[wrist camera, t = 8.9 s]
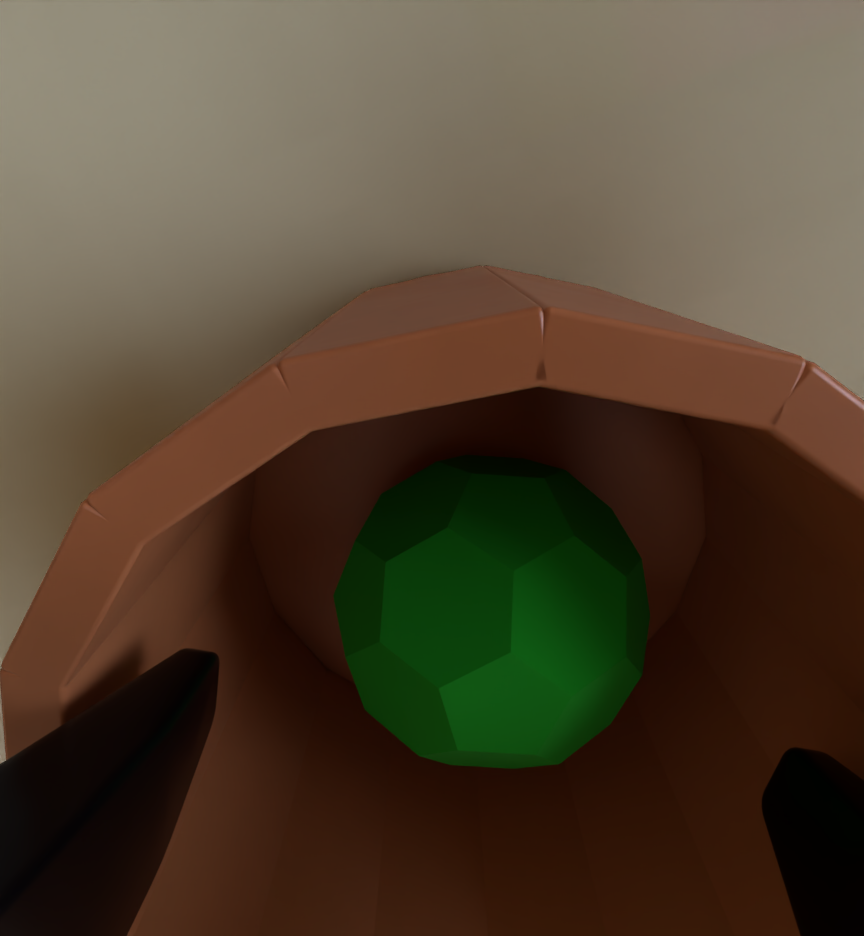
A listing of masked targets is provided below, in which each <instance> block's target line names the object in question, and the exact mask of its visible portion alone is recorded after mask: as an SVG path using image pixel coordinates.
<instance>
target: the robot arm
mask: <svg viewBox="0 0 864 936" xmlns="http://www.w3.org/2000/svg"><path fill="white" fill-rule="evenodd" d="M219 665H220V661H219V656H218V655H217V654H216V653H215V652H211V651H205V650H199V649H193V648H184V649H181V650H179V651H177V652H176V653H174V654H173V655H171V656H169V657H168V658H166V659H165V660H163V661H162V662H160V663H158V664H157V665H155V666H154V667H152V668H151V669H149V670H147V671H146V672H144V673H143V674H141V675H140V676H138V677H136V678H135V679H133V680H132V681H130V682H129V683H127V684H125V685H124V686H122V687H121V688H119V689H118V690H116V691H114V692H113V693H111V694H110V695H108V696H106V697H105V698H103V699H102V700H100V701H99V702H97V703H95V704H94V705H92V706H91V707H89V708H88V709H86V710H84V711H83V712H81V713H80V714H78V715H77V716H75V717H73V718H72V719H70V720H69V721H67V722H66V723H64V724H62V725H61V726H59V727H58V728H56V729H55V730H53V731H51V732H50V733H48V734H47V735H45V736H44V737H42V738H40V739H39V740H37V741H36V742H34V743H33V744H31V745H29V746H28V747H26V748H25V749H23V750H22V751H20V752H18V753H17V754H15V755H14V756H12V757H11V758H9V759H7V760H6V761H4V762H3V763H1V764H0V936H127V935H128V932H129V930H130V928H131V926H132V924H133V922H134V920H135V918H136V916H137V914H138V912H139V910H140V908H141V905H142V903H143V901H144V899H145V897H146V895H147V893H148V891H149V889H150V887H151V885H152V883H153V880H154V878H155V876H156V874H157V872H158V869H159V867H160V865H161V863H162V860H163V858H164V855H165V853H166V850H167V847H168V845H169V842H170V840H171V837H172V835H173V832H174V829H175V826H176V824H177V821H178V818H179V815H180V813H181V810H182V807H183V804H184V801H185V799H186V796H187V793H188V790H189V788H190V785H191V782H192V779H193V777H194V774H195V771H196V768H197V765H198V763H199V760H200V757H201V754H202V752H203V749H204V746H205V743H206V741H207V738H208V735H209V732H210V729H211V726H212V723H213V720H214V715H215V710H216V702H217V689H218V677H219ZM762 813H763V817H764V821H765V824H766V827H767V830H768V834H769V837H770V840H771V843H772V846H773V850H774V853H775V856H776V859H777V863H778V866H779V869H780V872H781V875H782V879H783V882H784V885H785V888H786V891H787V895H788V898H789V901H790V904H791V908H792V911H793V914H794V917H795V920H796V924H797V927H798V930H799V933H800V936H864V780H863V779H861V778H860V777H859V776H857V775H856V774H855V773H853V772H852V771H851V770H849V769H848V768H846V767H845V766H844V765H842V764H841V763H840V762H838V761H837V760H836V759H834V758H833V757H832V756H830V755H828V754H827V753H824V752H821V751H817V750H811V749H805V748H799V747H793V748H790V749H788V750H787V751H785V752H784V754H783V755H782V757H781V759H780V761H779V763H778V765H777V767H776V769H775V771H774V772H773V774H772V776H771V778H770V780H769V782H768V784H767V786H766V788H765V790H764V792H763V795H762Z"/></svg>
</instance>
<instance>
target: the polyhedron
mask: <svg viewBox="0 0 864 936" xmlns="http://www.w3.org/2000/svg"><path fill="white" fill-rule="evenodd" d="M333 598H334V603H335V608H336V613H337V618H338V623H339V628H340V633H341V638H342V643H343V648H344V653H345V658H346V661H347V663H348V666H349V669H350V671H351V674H352V677H353V680H354V682H355V685H356V688H357V690H358V693H359V696H360V699H361V701H362V704H363V707H364V709H365V711H367V712H368V713H369V714H370V715H371V716H372V717H374V718H375V719H376V720H377V721H378V722H379V723H381V724H382V725H383V726H384V727H385V728H387V729H388V730H389V731H390V732H391V733H392V734H394V735H395V736H396V737H397V738H398V739H399V740H401V741H402V742H403V743H404V744H405V745H406V746H408V747H409V748H410V749H411V750H412V751H413V752H415V753H416V754H417V755H418V756H420V757H424V758H427V759H431V760H434V761H438V762H441V763H445V764H448V765H458V766H475V767H492V768H509V769H516V768H526V767H536V766H546V765H557V764H560V763H561V762H563V761H564V760H565V759H567V758H568V757H569V756H570V755H572V754H573V753H574V752H576V751H577V750H578V749H579V748H581V747H582V746H583V745H585V744H586V743H587V742H588V741H590V740H591V739H592V738H594V737H595V736H596V735H597V734H599V733H600V732H601V731H603V730H604V729H605V728H606V727H608V726H609V725H610V724H611V723H612V721H613V720H614V718H615V717H616V715H617V714H618V712H619V710H620V709H621V707H622V706H623V704H624V703H625V701H626V700H627V698H628V696H629V695H630V693H631V692H632V690H633V689H634V687H635V686H636V684H637V683H638V681H639V679H640V678H641V676H642V674H643V666H644V659H645V651H646V644H647V636H648V629H649V621H650V610H649V603H648V596H647V590H646V583H645V576H644V570H643V563H642V558H641V556H640V554H639V553H638V551H637V550H636V548H635V546H634V545H633V543H632V541H631V540H630V538H629V536H628V535H627V533H626V531H625V530H624V528H623V526H622V525H621V523H620V521H619V520H618V518H617V516H616V515H615V513H614V511H613V510H612V508H610V507H609V506H608V505H607V504H606V503H604V502H603V501H602V500H601V499H600V498H598V497H597V496H596V495H595V494H594V493H592V492H591V491H590V490H589V489H588V488H586V487H585V486H584V485H583V484H582V483H580V482H579V481H578V480H577V479H576V478H574V477H573V476H572V475H571V474H570V473H568V472H567V471H566V470H564V469H561V468H557V467H553V466H550V465H546V464H542V463H539V462H535V461H531V460H528V459H524V458H510V457H495V456H479V455H462V456H458V457H453V458H449V459H445V460H440V461H436V462H434V463H433V464H431V465H429V466H428V467H426V468H424V469H423V470H421V471H419V472H417V473H416V474H414V475H412V476H411V477H409V478H407V479H406V480H404V481H402V482H400V483H399V484H397V485H395V486H394V487H392V488H390V489H389V490H387V491H385V492H383V493H382V494H381V495H380V497H379V499H378V501H377V502H376V504H375V506H374V508H373V509H372V511H371V513H370V515H369V517H368V518H367V520H366V522H365V524H364V525H363V527H362V529H361V531H360V533H359V534H358V536H357V538H356V540H355V542H354V544H353V547H352V549H351V552H350V554H349V557H348V559H347V562H346V565H345V567H344V570H343V572H342V575H341V577H340V580H339V582H338V585H337V587H336V590H335V592H334V595H333Z"/></svg>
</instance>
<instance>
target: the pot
mask: <svg viewBox="0 0 864 936" xmlns="http://www.w3.org/2000/svg"><path fill="white" fill-rule="evenodd" d="M462 455H479V456H495V457H510V458H524V459H528V460H531V461H535V462H539V463H542V464H546V465H550V466H553V467H557V468H561V469H564V470H566V471H567V472H568V473H570V474H571V475H572V476H573V477H574V478H576V479H577V480H578V481H579V482H580V483H582V484H583V485H584V486H585V487H586V488H588V489H589V490H590V491H591V492H592V493H594V494H595V495H596V496H597V497H598V498H600V499H601V500H602V501H603V502H604V503H606V504H607V505H608V506H609V507H610V508H612V510H613V511H614V513H615V515H616V516H617V518H618V520H619V521H620V523H621V525H622V526H623V528H624V530H625V531H626V533H627V535H628V536H629V538H630V540H631V541H632V543H633V545H634V546H635V548H636V550H637V551H638V553H639V554H640V556H641V558H642V563H643V570H644V576H645V583H646V590H647V596H648V603H649V610H650V621H649V629H648V636H647V644H646V651H645V659H644V666H643V674H642V676H641V678H640V679H639V681H638V683H637V684H636V686H635V687H634V689H633V690H632V692H631V693H630V695H629V696H628V698H627V700H626V701H625V703H624V704H623V706H622V707H621V709H620V710H619V712H618V714H617V715H616V717H615V718H614V720H613V721H612V723H611V724H610V725H609V726H608V727H606V728H605V729H604V730H603V731H601V732H600V733H599V734H597V735H596V736H595V737H594V738H592V739H591V740H590V741H588V742H587V743H586V744H585V745H583V746H582V747H581V748H579V749H578V750H577V751H576V752H574V753H573V754H572V755H570V756H569V757H568V758H567V759H565V760H564V761H563V762H561V763H560V764H557V765H546V766H536V767H526V768H516V769H509V768H492V767H475V766H458V765H448V764H445V763H441V762H438V761H434V760H431V759H427V758H424V757H420V756H418V755H417V754H416V753H415V752H413V751H412V750H411V749H410V748H409V747H408V746H406V745H405V744H404V743H403V742H402V741H401V740H399V739H398V738H397V737H396V736H395V735H394V734H392V733H391V732H390V731H389V730H388V729H387V728H385V727H384V726H383V725H382V724H381V723H379V722H378V721H377V720H376V719H375V718H374V717H372V716H371V715H370V714H369V713H368V712H367V711H365V709H364V707H363V704H362V701H361V699H360V696H359V693H358V690H357V688H356V685H355V682H354V680H353V677H352V674H351V671H350V669H349V666H348V663H347V661H346V658H345V653H344V648H343V643H342V638H341V633H340V628H339V623H338V618H337V613H336V608H335V603H334V598H333V595H334V592H335V590H336V587H337V585H338V582H339V580H340V577H341V575H342V572H343V570H344V567H345V565H346V562H347V559H348V557H349V554H350V552H351V549H352V547H353V544H354V542H355V540H356V538H357V536H358V534H359V533H360V531H361V529H362V527H363V525H364V524H365V522H366V520H367V518H368V517H369V515H370V513H371V511H372V509H373V508H374V506H375V504H376V502H377V501H378V499H379V497H380V495H381V494H382V493H383V492H385V491H387V490H389V489H390V488H392V487H394V486H395V485H397V484H399V483H400V482H402V481H404V480H406V479H407V478H409V477H411V476H412V475H414V474H416V473H417V472H419V471H421V470H423V469H424V468H426V467H428V466H429V465H431V464H433V463H434V462H436V461H440V460H445V459H449V458H453V457H458V456H462ZM184 648H193V649H199V650H205V651H211V652H215V653H216V654H217V655H218V656H219V661H220V665H219V677H218V689H217V702H216V710H215V715H214V720H213V723H212V726H211V729H210V732H209V735H208V738H207V741H206V743H205V746H204V749H203V752H202V754H201V757H200V760H199V763H198V765H197V768H196V771H195V774H194V777H193V779H192V782H191V785H190V788H189V790H188V793H187V796H186V799H185V801H184V804H183V807H182V810H181V813H180V815H179V818H178V821H177V824H176V826H175V829H174V832H173V835H172V837H171V840H170V842H169V845H168V847H167V850H166V853H165V855H164V858H163V860H162V863H161V865H160V867H159V869H158V872H157V874H156V876H155V878H154V880H153V883H152V885H151V887H150V889H149V891H148V893H147V895H146V897H145V899H144V901H143V903H142V905H141V908H140V910H139V912H138V914H137V916H136V918H135V920H134V922H133V924H132V926H131V928H130V930H129V932H128V935H127V936H800V933H799V930H798V927H797V924H796V920H795V917H794V914H793V911H792V908H791V904H790V901H789V898H788V895H787V891H786V888H785V885H784V882H783V879H782V875H781V872H780V869H779V866H778V863H777V859H776V856H775V853H774V850H773V846H772V843H771V840H770V837H769V834H768V830H767V827H766V824H765V821H764V817H763V813H762V795H763V792H764V790H765V788H766V786H767V784H768V782H769V780H770V778H771V776H772V774H773V772H774V771H775V769H776V767H777V765H778V763H779V761H780V759H781V757H782V755H783V754H784V752H785V751H787V750H788V749H790V748H793V747H799V748H805V749H811V750H817V751H821V752H824V753H827V754H828V755H830V756H832V757H833V758H834V759H836V760H837V761H838V762H840V763H841V764H842V765H844V766H845V767H846V768H848V769H849V770H851V771H852V772H853V773H855V774H856V775H857V776H859V777H860V778H861V779H863V780H864V401H863V400H862V399H861V398H859V397H858V396H857V395H855V394H854V393H853V392H851V391H850V390H849V389H848V388H846V387H845V386H844V385H842V384H841V383H840V382H838V381H837V380H836V379H835V378H833V377H832V376H831V375H829V374H828V373H827V372H825V371H824V370H823V369H822V368H820V367H819V366H818V365H816V364H815V363H813V362H810V361H807V360H805V359H803V358H802V357H801V356H798V355H795V354H792V353H789V352H786V351H783V350H780V349H777V348H774V347H771V346H768V345H765V344H762V343H759V342H756V341H753V340H750V339H747V338H744V337H741V336H738V335H735V334H732V333H729V332H726V331H723V330H720V329H717V328H714V327H711V326H708V325H705V324H702V323H699V322H696V321H693V320H690V319H687V318H684V317H681V316H678V315H675V314H672V313H669V312H666V311H663V310H660V309H657V308H654V307H651V306H648V305H645V304H642V303H639V302H636V301H633V300H630V299H627V298H624V297H621V296H618V295H615V294H612V293H609V292H606V291H603V290H600V289H597V288H594V287H589V286H584V285H579V284H575V283H570V282H565V281H560V280H555V279H550V278H546V277H542V276H539V275H532V274H526V273H521V272H516V271H511V270H506V269H501V268H496V267H492V266H487V265H486V266H480V265H479V266H475V267H470V268H465V269H461V270H456V271H451V272H446V273H441V274H434V275H427V276H422V277H419V278H415V279H412V280H408V281H404V282H400V283H395V284H390V285H386V286H381V287H376V288H372V289H370V290H368V291H365V292H363V293H362V294H360V295H359V296H358V297H356V298H355V299H353V300H352V301H351V302H349V303H348V304H346V305H345V306H344V307H342V308H341V309H340V310H338V311H337V312H335V313H334V314H333V315H331V316H330V317H328V318H327V319H326V320H324V321H323V322H321V323H320V324H319V325H317V326H316V327H315V328H313V329H312V330H310V331H309V332H308V333H306V334H305V335H303V336H302V337H301V338H299V339H298V340H297V341H295V342H294V343H292V344H291V345H290V346H288V347H287V348H285V349H284V350H283V351H281V352H280V353H278V354H277V355H276V356H274V357H273V358H272V359H270V360H269V361H268V362H266V363H265V364H264V365H262V366H261V367H260V368H258V369H257V370H256V371H254V372H253V373H251V374H250V375H249V376H247V377H246V378H245V379H243V380H242V381H241V382H239V383H238V384H237V385H235V386H234V387H233V388H231V389H230V390H229V391H227V392H226V393H224V394H223V395H222V396H220V397H219V398H218V399H216V400H215V401H214V402H212V403H211V404H210V405H208V406H207V407H206V408H204V409H203V410H201V411H200V412H199V413H197V414H196V415H195V416H193V417H192V418H191V419H189V420H188V421H187V422H185V423H184V424H183V425H181V426H180V427H179V428H177V429H176V430H174V431H173V432H172V433H170V434H169V435H168V436H166V437H165V438H164V439H162V440H161V441H160V442H158V443H157V444H156V445H154V446H153V447H152V448H150V449H149V450H147V451H146V452H145V453H143V454H142V455H141V456H139V457H138V458H137V459H135V460H134V461H133V462H131V463H130V464H129V465H127V466H126V467H125V468H123V469H122V470H120V471H119V472H118V473H116V474H115V475H114V476H112V477H111V478H110V479H108V480H107V481H106V482H104V483H103V484H102V485H100V486H99V487H97V488H96V489H95V490H93V491H92V492H91V493H90V494H89V496H88V498H87V499H85V500H84V501H83V502H81V504H80V506H79V508H78V510H77V512H76V514H75V516H74V518H73V520H72V522H71V524H70V526H69V528H68V530H67V532H66V534H65V536H64V538H63V540H62V542H61V544H60V546H59V548H58V550H57V552H56V554H55V556H54V558H53V560H52V563H51V565H50V567H49V569H48V571H47V573H46V575H45V577H44V579H43V581H42V583H41V585H40V587H39V589H38V591H37V593H36V595H35V597H34V599H33V601H32V603H31V605H30V607H29V609H28V611H27V613H26V615H25V617H24V619H23V621H22V623H21V625H20V627H19V629H18V631H17V633H16V635H15V637H14V639H13V641H12V643H11V645H10V647H9V649H8V651H7V653H6V655H5V657H4V659H3V661H2V665H1V667H2V669H1V671H0V686H1V699H2V713H3V726H4V739H5V753H6V760H7V759H9V758H11V757H12V756H14V755H15V754H17V753H18V752H20V751H22V750H23V749H25V748H26V747H28V746H29V745H31V744H33V743H34V742H36V741H37V740H39V739H40V738H42V737H44V736H45V735H47V734H48V733H50V732H51V731H53V730H55V729H56V728H58V727H59V726H61V725H62V724H64V723H66V722H67V721H69V720H70V719H72V718H73V717H75V716H77V715H78V714H80V713H81V712H83V711H84V710H86V709H88V708H89V707H91V706H92V705H94V704H95V703H97V702H99V701H100V700H102V699H103V698H105V697H106V696H108V695H110V694H111V693H113V692H114V691H116V690H118V689H119V688H121V687H122V686H124V685H125V684H127V683H129V682H130V681H132V680H133V679H135V678H136V677H138V676H140V675H141V674H143V673H144V672H146V671H147V670H149V669H151V668H152V667H154V666H155V665H157V664H158V663H160V662H162V661H163V660H165V659H166V658H168V657H169V656H171V655H173V654H174V653H176V652H177V651H179V650H181V649H184Z"/></svg>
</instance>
